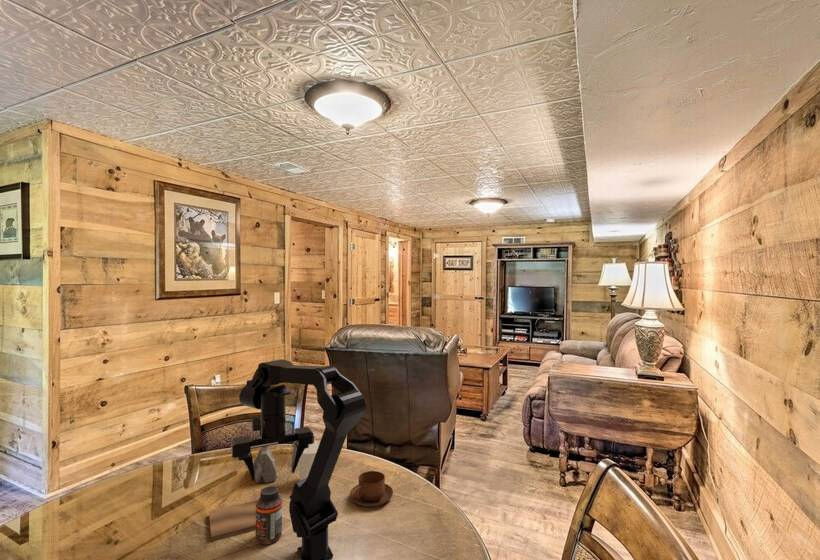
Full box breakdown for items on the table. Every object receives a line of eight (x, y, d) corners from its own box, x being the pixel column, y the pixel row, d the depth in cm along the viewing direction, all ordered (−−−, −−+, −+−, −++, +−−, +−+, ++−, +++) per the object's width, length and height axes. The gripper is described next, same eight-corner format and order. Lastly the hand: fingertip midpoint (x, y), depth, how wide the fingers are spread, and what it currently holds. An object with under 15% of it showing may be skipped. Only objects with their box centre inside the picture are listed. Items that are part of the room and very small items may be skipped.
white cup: (317, 488, 118) (317, 454, 119) (292, 485, 120) (292, 452, 120) (327, 476, 126) (328, 444, 126) (304, 473, 128) (304, 442, 128)
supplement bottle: (249, 541, 94) (250, 492, 94) (269, 527, 99) (269, 481, 99) (268, 549, 91) (268, 498, 91) (287, 534, 97) (287, 487, 97)
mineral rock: (261, 464, 135) (261, 434, 135) (292, 466, 133) (292, 435, 133) (239, 482, 122) (240, 449, 122) (273, 485, 120) (273, 451, 120)
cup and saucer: (383, 514, 105) (383, 490, 106) (342, 506, 109) (342, 483, 109) (399, 492, 117) (399, 471, 117) (361, 485, 121) (361, 464, 121)
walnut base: (265, 526, 100) (265, 522, 100) (211, 541, 94) (211, 536, 94) (258, 503, 110) (258, 499, 110) (209, 515, 104) (209, 511, 104)
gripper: (304, 399, 110) (305, 457, 110) (230, 409, 102) (230, 471, 102) (314, 410, 100) (314, 473, 100) (232, 421, 92) (232, 491, 92)
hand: (273, 476), depth 99 cm, fingers open, 9 cm apart
